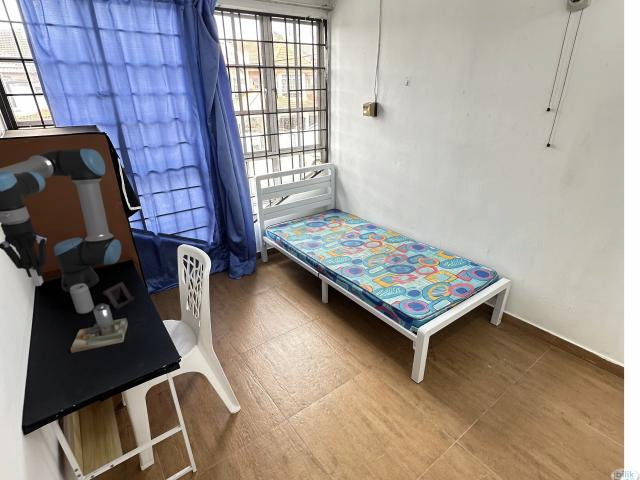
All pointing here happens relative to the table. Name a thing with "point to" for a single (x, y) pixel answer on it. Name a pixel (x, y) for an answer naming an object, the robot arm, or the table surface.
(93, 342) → the dock mount
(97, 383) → the table surface
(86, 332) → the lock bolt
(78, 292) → the beverage can
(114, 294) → the dark hollow square block
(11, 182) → the robot arm
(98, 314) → the metal bottle
